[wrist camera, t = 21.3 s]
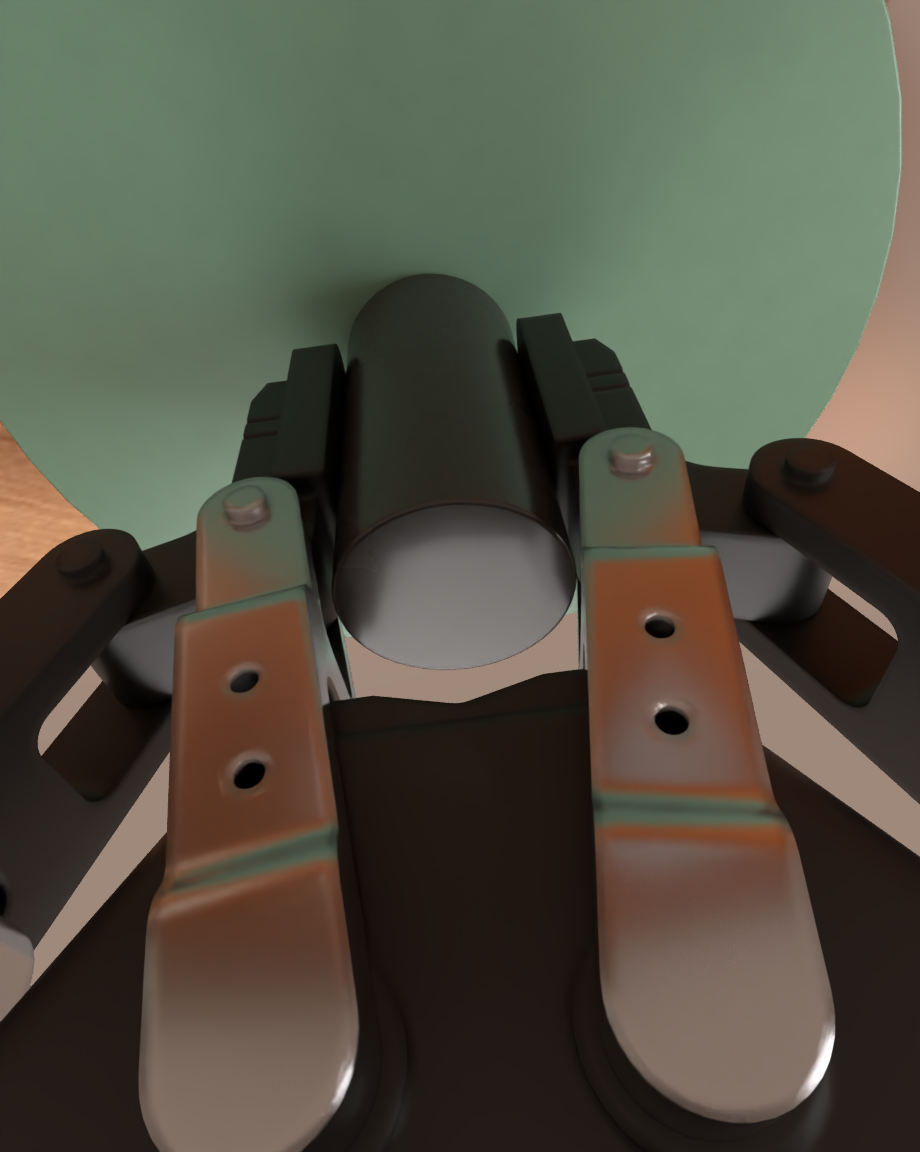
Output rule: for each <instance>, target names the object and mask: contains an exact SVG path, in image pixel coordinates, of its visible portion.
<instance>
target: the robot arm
mask: <svg viewBox="0 0 920 1152" xmlns="http://www.w3.org/2000/svg"><path fill="white" fill-rule="evenodd" d="M516 333H517V353H518V357H519V361H520V364H521V368H522V371H523V375H524V379H525V382H526V386H527V389H528V393H529V397H530V400H531V404H532V408H533V411H534V415H535V418H536V422H537V426H538V429H539V433H540V436H541V440H542V444H543V447H544V451H545V455H546V458H547V462H548V465H549V469H550V473H551V476H552V480H553V483H554V487H555V491H556V494H557V498H558V502H559V505H560V509H561V512H562V516H563V520H564V523H565V527H566V530H567V534H568V538H569V541H570V545H571V549H572V552H573V556H574V559H575V563H576V569H577V629H578V630H577V632H578V670H571V671H563V672H555V673H547V674H542V675H539V676H536V677H534V678H531V679H528V680H525V681H523V682H520V683H517V684H514V685H511V686H509V687H506V688H503V689H501V690H498V691H495V692H492V693H490V694H487V695H484V696H481V697H479V698H475V699H473V700H470V701H467V702H463V703H443V702H433V701H432V702H431V701H422V700H412V699H401V698H391V697H380V696H369V697H361V698H356V695H355V689H354V684H353V679H352V673H351V668H350V663H349V657H348V652H347V647H346V642H345V636H344V631H343V626H342V623H341V621H340V619H339V617H338V615H337V613H336V611H335V608H334V604H333V600H332V589H331V585H332V570H333V556H334V541H335V526H336V512H337V497H338V482H339V468H340V453H341V438H342V424H343V409H344V395H345V380H346V372H345V368H344V364H343V360H342V356H341V353H340V350H339V347H338V345H337V344H328V345H321V346H314V347H307V348H300V349H293V351H292V354H291V360H290V365H289V371H288V377H287V380H286V381H279V382H272V383H267V384H266V385H265V386H264V387H263V389H262V390H261V391H260V392H259V393H258V394H257V395H256V397H255V398H254V399H253V400H252V401H251V404H250V408H249V413H248V417H247V424H246V425H245V429H244V434H243V437H244V439H243V440H242V442H241V446H240V450H239V455H238V459H237V463H236V467H235V472H234V476H233V480H232V484H229V485H227V486H225V487H223V488H221V489H220V490H218V491H217V492H215V493H214V494H213V495H212V496H210V497H209V498H208V499H207V500H206V501H205V502H204V504H203V505H202V507H201V508H200V510H199V512H198V515H197V524H196V530H195V531H193V532H191V533H189V534H187V535H185V536H182V537H180V538H177V539H174V540H171V541H169V542H166V543H163V544H160V545H157V546H155V547H152V548H149V549H146V550H143V551H142V549H141V548H140V546H139V544H138V543H137V541H136V539H135V538H134V537H133V536H132V535H131V534H129V533H127V532H125V531H122V530H118V529H99V530H93V531H89V532H85V533H82V534H80V535H77V536H74V537H72V538H70V539H68V540H66V541H64V542H63V543H61V544H59V545H58V546H56V547H55V548H53V549H52V550H51V551H49V552H48V553H47V554H46V555H45V556H44V557H43V558H42V559H41V560H40V561H39V562H38V563H37V564H36V565H35V566H34V567H32V568H31V569H30V570H29V571H28V572H27V573H26V574H25V575H24V576H23V577H22V578H21V579H20V580H19V581H18V582H17V583H16V584H15V585H14V586H13V587H12V588H11V589H10V590H9V591H8V592H7V593H6V594H5V595H4V596H3V597H2V598H1V599H0V1152H920V857H919V856H918V855H917V854H915V853H914V852H912V851H911V850H910V849H908V848H907V847H905V846H904V845H903V844H901V843H900V842H898V841H897V840H896V839H894V838H893V837H891V836H890V835H888V834H887V833H886V832H884V831H883V830H882V829H880V828H879V827H877V826H876V825H875V824H873V823H872V822H870V821H869V820H868V819H866V818H865V817H863V816H862V815H860V814H859V813H858V812H856V811H855V810H853V809H852V808H851V807H849V806H848V805H846V804H845V803H844V802H842V801H841V800H839V799H838V798H836V797H835V796H834V795H832V794H831V793H830V792H828V791H827V790H825V789H824V788H822V787H821V786H820V785H818V784H817V783H815V782H814V781H812V780H811V779H810V778H808V777H807V776H806V775H804V774H803V773H801V772H800V771H799V770H797V769H796V768H794V767H793V766H792V765H790V764H789V763H787V762H786V761H785V760H783V759H782V758H780V757H779V756H778V755H776V754H775V753H773V752H772V751H770V750H769V749H768V748H766V747H765V746H763V745H762V743H761V738H760V734H759V729H758V725H757V721H756V716H755V711H754V707H753V702H752V698H751V693H750V689H749V684H748V680H747V675H746V671H745V666H744V662H743V658H742V653H741V648H740V644H739V642H740V643H742V644H743V645H744V646H745V647H746V648H747V649H748V650H750V652H752V653H753V654H754V655H755V656H756V657H757V658H758V659H759V660H760V661H762V662H763V663H764V664H765V665H766V666H767V667H768V668H769V669H770V670H772V671H773V672H774V673H775V674H776V675H777V676H778V677H779V678H780V679H781V680H783V681H784V682H785V683H786V684H787V685H788V686H789V687H790V688H792V689H793V690H794V691H795V692H796V693H797V694H798V695H799V696H800V697H801V698H803V699H804V700H805V701H806V702H807V703H808V704H809V705H810V706H811V707H813V708H814V709H815V710H816V711H817V712H818V713H819V714H820V715H821V716H823V717H824V718H825V719H826V720H827V721H828V722H829V723H831V725H833V726H834V727H835V728H836V729H837V730H838V731H839V732H840V733H841V734H843V735H844V736H845V737H846V738H847V739H848V740H849V741H850V742H851V743H852V744H854V745H855V746H856V747H857V748H858V749H859V750H860V751H861V752H862V753H863V754H865V755H866V756H867V757H868V758H869V759H870V760H871V761H873V762H874V763H875V764H876V765H877V766H878V767H879V768H880V769H881V770H882V771H884V772H885V773H886V774H887V775H888V776H889V777H890V778H891V779H892V780H893V781H894V782H896V783H897V784H898V785H899V786H900V787H901V788H902V789H903V790H904V791H906V792H907V793H908V794H909V795H910V796H911V797H912V798H913V799H914V800H916V801H917V802H918V803H919V804H920V492H918V491H916V490H915V489H913V488H911V487H910V486H908V485H906V484H905V483H903V482H901V481H899V480H898V479H896V478H894V477H892V476H891V475H889V474H887V473H886V472H884V471H882V470H880V469H879V468H877V467H875V466H874V465H872V464H870V463H868V462H867V461H865V460H863V459H862V458H860V457H858V456H856V455H855V454H853V453H851V452H850V451H848V450H846V449H844V448H842V447H840V446H837V445H834V444H832V443H829V442H825V441H821V440H816V439H807V438H789V439H782V440H777V441H774V442H771V443H768V444H766V445H764V446H762V447H761V448H759V449H758V450H757V451H756V452H755V453H754V455H753V456H752V458H751V461H750V464H749V469H738V468H725V467H713V466H705V465H700V464H695V463H692V462H688V461H685V457H684V453H683V451H682V449H681V447H680V446H679V445H678V444H677V443H676V442H675V441H674V440H673V439H671V438H670V437H668V436H667V435H664V434H662V433H660V432H657V431H654V430H652V429H651V427H650V425H649V423H648V421H647V419H646V416H645V414H644V412H643V410H642V408H641V406H640V404H639V402H638V400H637V398H636V395H635V393H634V391H633V389H632V387H630V383H629V381H628V379H627V376H626V374H625V373H623V368H622V366H621V364H620V362H619V360H618V358H617V355H616V353H615V352H614V351H613V350H611V349H610V348H608V347H607V346H606V345H604V344H603V343H601V342H600V341H598V340H597V339H595V338H593V339H586V340H579V341H572V338H571V336H570V333H569V331H568V328H567V326H566V323H565V321H564V318H563V316H562V314H561V313H554V314H547V315H539V316H532V317H525V318H518V319H517V323H516ZM832 576H833V577H834V578H836V579H837V580H838V581H840V582H841V583H842V584H844V585H845V586H846V587H848V588H849V589H851V590H852V591H853V592H855V593H856V594H857V595H859V596H860V597H861V598H863V599H864V600H865V601H867V602H868V603H870V604H871V605H872V606H874V607H875V608H876V609H878V610H879V611H880V612H881V613H883V614H884V615H885V616H886V617H887V618H888V620H889V621H890V622H891V624H892V625H893V627H894V629H895V631H896V634H897V638H898V641H897V640H896V639H894V638H893V637H892V636H890V635H889V634H888V633H886V632H885V631H884V630H882V629H881V628H880V627H878V626H877V625H876V624H874V623H873V622H872V621H870V620H869V619H868V618H866V617H865V616H864V615H862V614H861V613H860V612H858V611H857V610H856V609H854V608H853V607H852V606H850V605H849V604H848V603H846V602H845V601H844V600H842V599H841V598H840V597H838V596H837V595H835V594H834V593H833V592H832V591H830V590H829V589H828V586H829V584H830V581H831V579H832ZM90 665H91V666H92V668H93V669H94V670H95V672H96V673H97V674H98V675H99V677H100V678H101V679H102V680H103V681H102V682H101V684H100V685H99V686H98V687H97V689H96V690H95V691H94V692H93V693H92V695H91V696H90V697H89V698H88V700H87V701H86V702H85V703H84V704H83V706H82V707H81V708H80V709H79V711H78V712H77V713H76V714H75V716H74V717H73V718H72V719H71V720H70V722H69V723H68V724H67V726H66V727H65V728H64V729H63V730H62V732H61V733H60V734H59V735H58V737H57V738H56V739H55V740H54V741H53V743H52V744H51V745H50V747H49V748H48V749H47V750H46V751H45V752H44V754H43V755H42V756H41V755H40V753H39V750H38V735H39V731H40V729H41V726H42V724H43V722H44V721H45V719H46V718H47V716H48V715H49V714H50V713H51V711H52V710H53V709H54V708H55V707H56V706H57V704H58V703H59V702H60V701H61V700H62V698H63V697H64V696H65V695H66V694H67V692H68V691H69V690H70V689H71V687H72V686H73V685H74V684H75V683H76V682H77V681H78V679H79V678H80V677H81V676H82V675H83V673H84V672H85V671H86V670H87V669H88V667H89V666H90ZM169 752H170V766H169V768H170V769H169V793H168V819H167V820H168V821H167V833H166V834H165V835H164V836H163V837H162V838H161V839H160V840H159V842H158V843H157V844H156V845H155V846H154V847H153V848H152V850H151V851H150V852H149V853H148V854H147V855H146V856H145V858H144V859H143V860H142V861H141V862H140V863H139V864H138V865H137V867H136V868H135V869H134V870H133V871H132V872H131V873H130V875H129V876H128V877H127V878H126V879H125V880H124V881H123V883H122V884H121V885H120V886H119V887H118V888H117V889H116V891H115V892H114V893H113V894H112V895H111V896H110V897H109V899H108V900H107V901H106V902H105V903H104V904H103V905H102V907H101V908H100V909H99V910H98V911H97V912H96V913H95V914H94V916H93V917H92V918H91V919H90V920H89V921H88V923H87V924H86V925H85V926H84V927H83V928H82V929H81V931H80V932H79V933H78V934H77V935H76V936H75V937H74V938H73V940H72V941H71V942H70V943H69V944H68V945H67V946H66V948H65V949H64V950H63V951H62V952H61V953H60V954H59V956H58V957H57V958H56V959H55V960H54V961H53V962H52V963H51V965H50V966H49V967H48V968H47V969H46V970H45V971H44V973H43V974H42V975H41V976H40V977H39V979H37V981H36V982H35V983H34V984H33V985H32V986H30V983H31V979H32V974H33V968H34V950H35V948H36V947H37V945H38V944H39V942H40V940H41V939H42V938H43V936H44V935H45V933H46V932H47V930H48V929H49V928H50V926H51V925H52V923H53V922H54V920H55V919H56V917H57V916H58V914H59V913H60V911H61V910H62V909H63V907H64V906H65V904H66V903H67V901H68V900H69V898H70V897H71V895H72V894H73V892H74V891H75V889H76V888H77V887H78V885H79V884H80V882H81V881H82V879H83V877H84V876H85V874H86V873H87V872H88V870H89V869H90V868H91V866H92V865H93V863H94V862H95V860H96V859H97V857H98V856H99V854H100V853H101V851H102V850H103V848H104V847H105V846H106V844H107V843H108V841H109V840H110V838H111V837H112V835H113V834H114V832H115V831H116V829H117V828H118V827H119V825H120V824H121V822H122V821H123V819H124V818H125V816H126V815H127V813H128V812H129V810H130V809H131V807H132V806H133V805H134V803H135V802H136V800H137V799H138V797H139V796H140V794H141V793H142V791H143V790H144V788H145V787H146V785H147V784H148V782H149V781H150V780H151V778H152V777H153V775H154V774H155V772H156V771H157V769H158V768H159V766H160V765H161V763H162V762H163V761H164V759H165V758H166V756H167V755H168V753H169Z"/></svg>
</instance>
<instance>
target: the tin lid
mask: <svg viewBox="0 0 920 1152" xmlns="http://www.w3.org/2000/svg"><path fill="white" fill-rule="evenodd" d="M901 170H902V96H901V88H900V81H899V74H898V68H897V60H896V53H895V46H894V40H893V32H892V25H891V19H890V15H889V12H888V9H887V5H886V2H885V0H0V421H1V423H2V424H3V425H4V427H5V428H6V429H7V431H8V432H9V433H10V435H11V436H12V437H13V439H14V440H15V441H16V443H17V444H18V445H19V447H20V448H21V449H22V451H23V452H24V453H25V455H26V456H27V457H28V459H29V460H30V461H31V462H32V463H33V464H34V465H35V467H36V468H37V469H38V470H39V471H40V472H41V473H42V474H43V475H44V476H45V477H46V478H47V479H48V481H49V482H50V483H51V484H52V485H53V486H54V487H55V488H56V489H57V490H58V491H59V492H60V493H61V494H62V496H63V497H64V498H65V499H66V500H67V501H68V502H69V503H71V504H72V505H73V506H74V507H75V508H76V509H77V510H79V511H80V512H81V513H82V514H83V515H84V516H85V517H87V518H88V519H89V520H90V521H91V522H92V523H93V524H95V525H96V526H97V527H98V528H99V529H118V530H122V531H125V532H127V533H129V534H131V535H132V536H133V537H134V538H135V539H136V541H137V543H138V544H139V546H140V548H141V549H142V551H143V550H146V549H149V548H152V547H155V546H157V545H160V544H163V543H166V542H169V541H171V540H174V539H177V538H180V537H182V536H185V535H187V534H189V533H191V532H193V531H195V530H196V524H197V515H198V512H199V510H200V508H201V507H202V505H203V504H204V502H205V501H206V500H207V499H208V498H209V497H210V496H212V495H213V494H214V493H215V492H217V491H218V490H220V489H221V488H223V487H225V486H227V485H229V484H232V480H233V476H234V472H235V467H236V463H237V459H238V455H239V450H240V446H241V442H242V440H243V439H244V437H243V434H244V429H245V425H246V424H247V417H248V413H249V408H250V404H251V401H252V400H253V399H254V398H255V397H256V395H257V394H258V393H259V392H260V391H261V390H262V389H263V387H264V386H265V385H266V384H267V383H272V382H279V381H286V380H287V377H288V371H289V365H290V360H291V354H292V351H293V349H300V348H307V347H314V346H321V345H328V344H337V345H338V347H339V350H340V353H341V356H342V360H343V364H344V368H345V372H346V380H345V395H344V409H343V424H342V438H341V453H340V468H339V482H338V497H337V512H336V526H335V541H334V556H333V570H332V585H331V589H332V600H333V604H334V608H335V611H336V613H337V615H338V617H339V619H340V621H341V623H342V626H343V631H344V636H345V637H351V638H354V639H355V640H356V641H358V642H359V643H360V644H361V645H363V646H364V647H365V648H367V649H369V650H370V651H372V652H374V653H375V654H377V655H379V656H381V657H383V658H385V659H388V660H391V661H394V662H396V663H399V664H404V665H408V666H412V667H417V668H423V669H435V670H456V669H468V668H474V667H480V666H484V665H488V664H492V663H496V662H499V661H502V660H504V659H508V658H510V657H512V656H514V655H517V654H519V653H521V652H523V651H525V650H526V649H528V648H530V647H532V646H533V645H535V644H536V643H537V642H539V641H540V640H542V639H543V638H544V637H545V636H547V635H548V634H549V633H550V632H551V631H552V630H553V629H554V628H555V627H556V626H557V625H558V624H559V623H560V621H561V620H562V618H563V617H564V616H565V615H568V614H571V613H573V612H576V611H577V569H576V563H575V559H574V556H573V552H572V549H571V545H570V541H569V538H568V534H567V530H566V527H565V523H564V520H563V516H562V512H561V509H560V505H559V502H558V498H557V494H556V491H555V487H554V483H553V480H552V476H551V473H550V469H549V465H548V462H547V458H546V455H545V451H544V447H543V444H542V440H541V436H540V433H539V429H538V426H537V422H536V418H535V415H534V411H533V408H532V404H531V400H530V397H529V393H528V389H527V386H526V382H525V379H524V375H523V371H522V368H521V364H520V361H519V357H518V353H517V333H516V323H517V319H518V318H525V317H532V316H539V315H547V314H554V313H561V314H562V316H563V318H564V321H565V323H566V326H567V328H568V331H569V333H570V336H571V338H572V341H579V340H586V339H593V338H595V339H597V340H598V341H600V342H601V343H603V344H604V345H606V346H607V347H608V348H610V349H611V350H613V351H614V352H615V353H616V355H617V358H618V360H619V362H620V364H621V366H622V368H623V373H625V374H626V376H627V379H628V381H629V383H630V387H632V389H633V391H634V393H635V395H636V398H637V400H638V402H639V404H640V406H641V408H642V410H643V412H644V414H645V416H646V419H647V421H648V423H649V425H650V427H651V429H652V430H654V431H657V432H660V433H662V434H664V435H667V436H668V437H670V438H671V439H673V440H674V441H675V442H676V443H677V444H678V445H679V446H680V447H681V449H682V451H683V453H684V457H685V461H688V462H692V463H695V464H700V465H705V466H713V467H725V468H738V469H749V464H750V461H751V458H752V456H753V455H754V453H755V452H756V451H757V450H758V449H759V448H761V447H762V446H764V445H766V444H768V443H771V442H774V441H777V440H782V439H789V438H805V437H806V436H807V434H808V433H809V431H810V430H811V428H812V427H813V425H814V424H815V422H816V421H817V419H818V418H819V416H820V415H821V413H822V412H823V410H824V409H825V407H826V406H827V404H828V402H829V401H830V400H831V398H832V396H833V394H834V392H835V390H836V388H837V386H838V385H839V383H840V381H841V379H842V377H843V375H844V373H845V371H846V369H847V367H848V365H849V363H850V361H851V359H852V357H853V355H854V354H855V352H856V350H857V347H858V345H859V342H860V340H861V337H862V334H863V332H864V329H865V326H866V324H867V321H868V319H869V316H870V314H871V311H872V308H873V306H874V303H875V301H876V298H877V295H878V292H879V288H880V284H881V280H882V277H883V272H884V269H885V265H886V261H887V257H888V253H889V249H890V245H891V241H892V237H893V233H894V226H895V218H896V210H897V202H898V194H899V186H900V178H901Z"/></svg>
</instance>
